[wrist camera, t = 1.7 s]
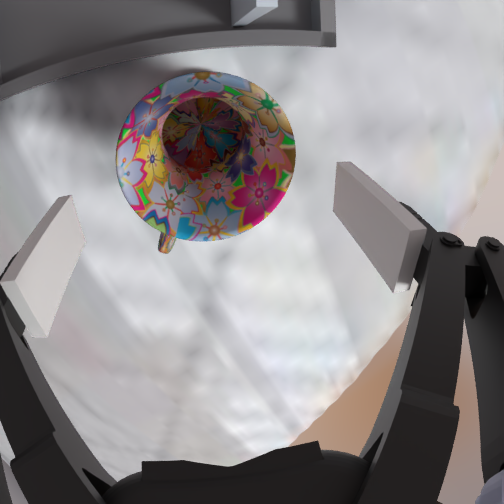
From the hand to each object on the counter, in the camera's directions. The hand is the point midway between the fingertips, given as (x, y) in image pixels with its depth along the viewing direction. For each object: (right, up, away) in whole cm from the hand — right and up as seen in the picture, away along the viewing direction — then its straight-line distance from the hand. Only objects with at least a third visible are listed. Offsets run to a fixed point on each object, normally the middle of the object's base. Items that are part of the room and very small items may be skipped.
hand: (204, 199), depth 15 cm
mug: (-2, +7, +10) cm, 12 cm away
